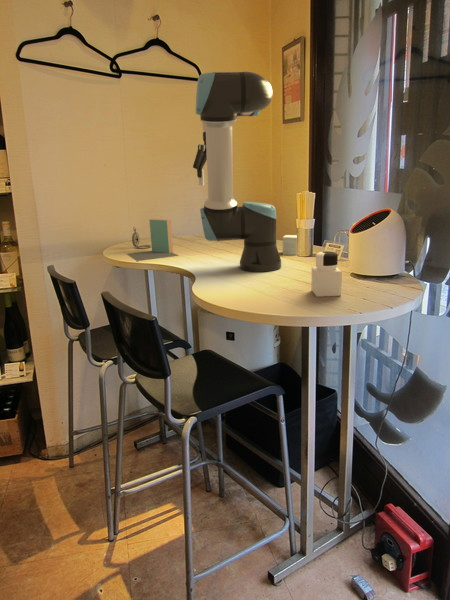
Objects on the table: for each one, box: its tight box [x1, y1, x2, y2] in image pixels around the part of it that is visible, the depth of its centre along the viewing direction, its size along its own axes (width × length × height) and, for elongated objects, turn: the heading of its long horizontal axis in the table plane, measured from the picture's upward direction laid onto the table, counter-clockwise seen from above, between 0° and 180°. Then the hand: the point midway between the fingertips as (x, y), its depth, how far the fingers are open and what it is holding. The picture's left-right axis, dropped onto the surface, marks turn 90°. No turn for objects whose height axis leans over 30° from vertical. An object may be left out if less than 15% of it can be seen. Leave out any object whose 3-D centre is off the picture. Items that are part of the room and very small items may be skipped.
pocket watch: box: [131, 226, 152, 250], centre depth 217 cm, size 8×8×10 cm
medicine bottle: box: [310, 250, 343, 298], centre depth 134 cm, size 7×7×12 cm
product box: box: [282, 234, 298, 256], centre depth 192 cm, size 6×6×7 cm
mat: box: [126, 250, 180, 263], centre depth 200 cm, size 18×18×1 cm
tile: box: [149, 218, 174, 253], centre depth 204 cm, size 3×10×14 cm, turn 56°
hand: (213, 182), depth 204 cm, fingers open, 13 cm apart
